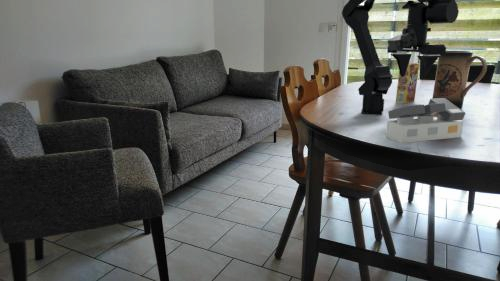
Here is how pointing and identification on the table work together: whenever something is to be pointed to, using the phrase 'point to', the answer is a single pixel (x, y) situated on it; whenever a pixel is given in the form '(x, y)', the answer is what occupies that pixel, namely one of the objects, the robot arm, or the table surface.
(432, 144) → the table surface
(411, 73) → the candy box
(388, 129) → the power strip
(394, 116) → the rocker
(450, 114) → the rocker
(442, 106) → the rocker
